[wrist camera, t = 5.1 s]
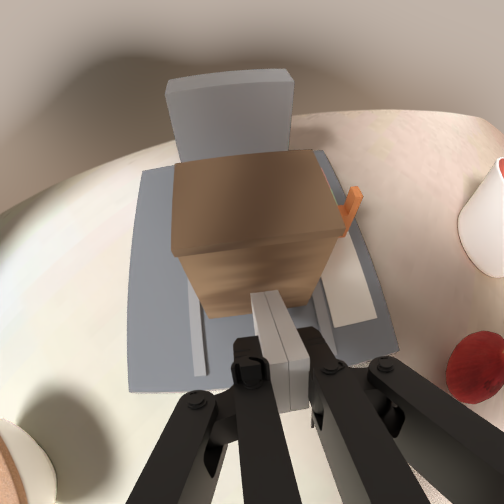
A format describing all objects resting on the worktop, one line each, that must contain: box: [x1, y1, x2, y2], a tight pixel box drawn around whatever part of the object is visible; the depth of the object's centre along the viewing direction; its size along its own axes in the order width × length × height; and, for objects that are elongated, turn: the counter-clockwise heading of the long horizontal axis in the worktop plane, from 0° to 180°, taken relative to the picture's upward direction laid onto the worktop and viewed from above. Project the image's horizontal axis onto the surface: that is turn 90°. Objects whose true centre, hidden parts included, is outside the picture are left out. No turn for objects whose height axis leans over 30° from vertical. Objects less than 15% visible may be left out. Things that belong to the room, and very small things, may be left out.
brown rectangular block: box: [171, 149, 346, 319], centre depth 16 cm, size 7×5×10 cm
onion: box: [446, 331, 504, 404], centre depth 14 cm, size 6×6×8 cm
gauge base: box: [127, 69, 399, 393], centre depth 19 cm, size 20×22×12 cm
